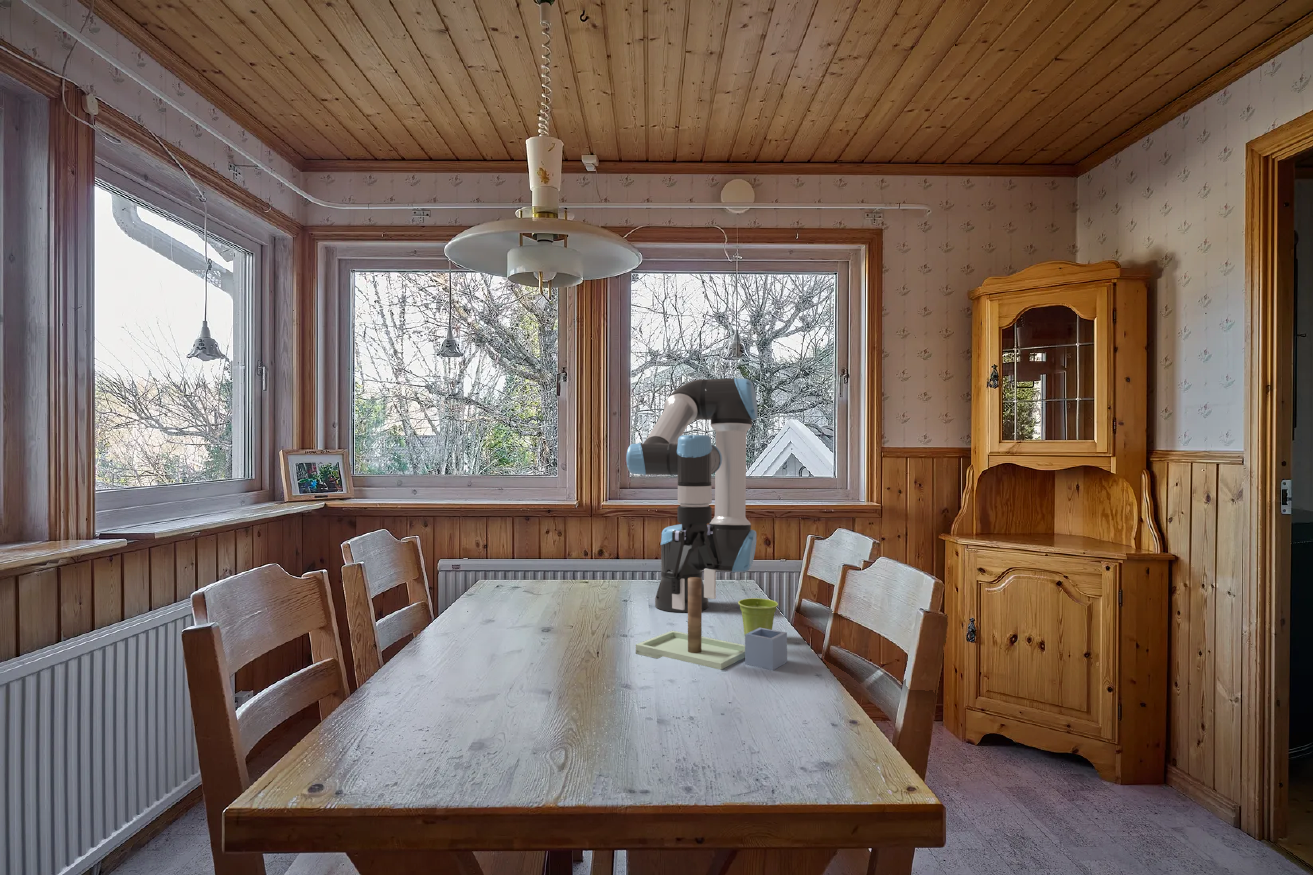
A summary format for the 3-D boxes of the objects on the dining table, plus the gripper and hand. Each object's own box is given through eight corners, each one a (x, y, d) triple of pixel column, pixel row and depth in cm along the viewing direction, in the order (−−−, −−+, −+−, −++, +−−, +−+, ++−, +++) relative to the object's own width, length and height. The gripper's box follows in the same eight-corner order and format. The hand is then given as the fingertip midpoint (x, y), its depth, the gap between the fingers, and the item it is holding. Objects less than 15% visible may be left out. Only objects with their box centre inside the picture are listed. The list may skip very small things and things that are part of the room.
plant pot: (776, 634, 169) (776, 598, 169) (779, 645, 160) (779, 607, 160) (737, 633, 170) (737, 597, 170) (738, 644, 160) (738, 606, 160)
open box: (759, 660, 149) (759, 627, 149) (787, 665, 145) (787, 632, 145) (745, 667, 144) (745, 634, 144) (772, 674, 140) (772, 639, 140)
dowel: (692, 648, 155) (692, 576, 155) (704, 650, 153) (704, 578, 153) (685, 651, 152) (685, 578, 152) (696, 653, 151) (696, 580, 151)
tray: (672, 638, 165) (672, 630, 165) (754, 655, 152) (754, 646, 152) (635, 653, 154) (635, 644, 154) (720, 673, 140) (720, 663, 141)
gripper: (709, 500, 165) (709, 591, 165) (647, 508, 145) (647, 611, 145) (736, 501, 160) (737, 595, 160) (677, 510, 141) (677, 617, 141)
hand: (694, 603), depth 153 cm, fingers open, 12 cm apart
